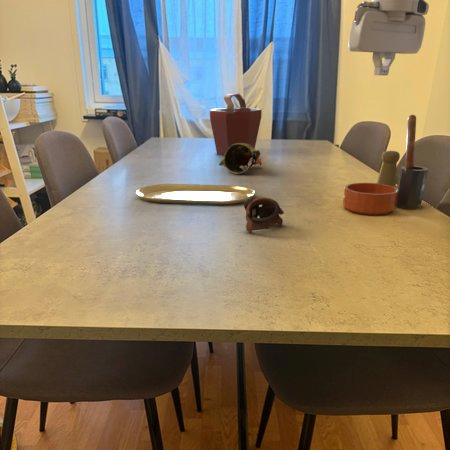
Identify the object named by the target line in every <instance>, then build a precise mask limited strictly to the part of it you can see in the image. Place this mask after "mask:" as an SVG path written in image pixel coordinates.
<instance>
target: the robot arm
mask: <svg viewBox="0 0 450 450" xmlns="http://www.w3.org/2000/svg"><path fill="white" fill-rule="evenodd" d="M429 5H430V4H429V3H428V1H426V0H371V1H367V0H363V1H361V3H359V4H358V5H357V6H356V7H355V10H354V17H353V20H352V22H351V27H350V30H349V31H350V32H349V35H348V36H349V37H348V42H347V47H348V49H349V52H353V53H354V52H355V53H372V62H373V66H374V69H373V75H374V76H388V75H389V74H390V68H391V66H392V64H393V62H394V61H395V59H396V54H401V55H414V54H415V55H416V54H418V52H419V51H420V50H421V48H422V46H423V45H422V44H423V41H424V35H425V29H426V18H425V16H426V15H428V14H429V13H428V12H429V8H430V6H429ZM383 59H384V60H383Z"/></svg>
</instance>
